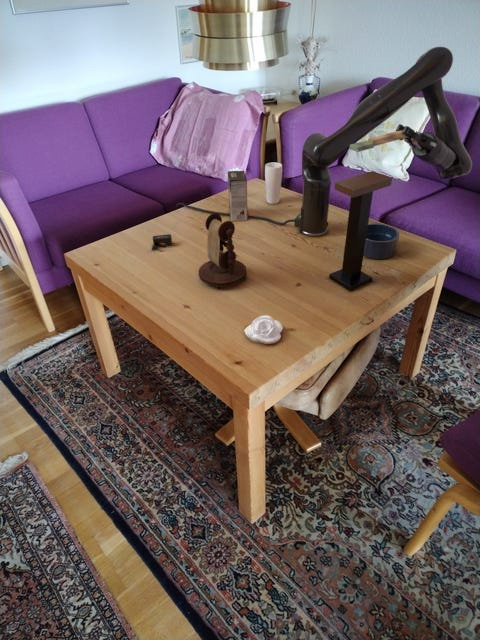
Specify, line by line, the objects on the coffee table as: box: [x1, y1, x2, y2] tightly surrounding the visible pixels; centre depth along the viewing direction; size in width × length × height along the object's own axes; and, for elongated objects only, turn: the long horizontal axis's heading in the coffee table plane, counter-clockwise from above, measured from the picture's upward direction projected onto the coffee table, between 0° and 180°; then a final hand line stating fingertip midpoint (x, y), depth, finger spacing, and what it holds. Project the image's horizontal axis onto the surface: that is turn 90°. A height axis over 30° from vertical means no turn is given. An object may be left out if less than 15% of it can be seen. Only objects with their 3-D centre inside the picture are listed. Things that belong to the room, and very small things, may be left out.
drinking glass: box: [264, 162, 283, 205], centre depth 187 cm, size 7×7×15 cm
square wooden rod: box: [349, 129, 407, 153], centre depth 130 cm, size 22×3×2 cm, turn 123°
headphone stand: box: [328, 170, 393, 292], centre depth 134 cm, size 14×9×31 cm, turn 124°
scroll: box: [198, 213, 248, 290], centre depth 140 cm, size 15×15×20 cm
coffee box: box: [227, 170, 248, 222], centre depth 177 cm, size 9×6×16 cm
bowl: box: [363, 223, 400, 260], centre depth 156 cm, size 13×13×6 cm
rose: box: [244, 315, 283, 345], centre depth 122 cm, size 10×4×10 cm
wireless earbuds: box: [151, 233, 173, 251], centre depth 162 cm, size 5×7×3 cm, turn 101°
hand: (401, 128), depth 132 cm, fingers closed on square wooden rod, 2 cm apart
